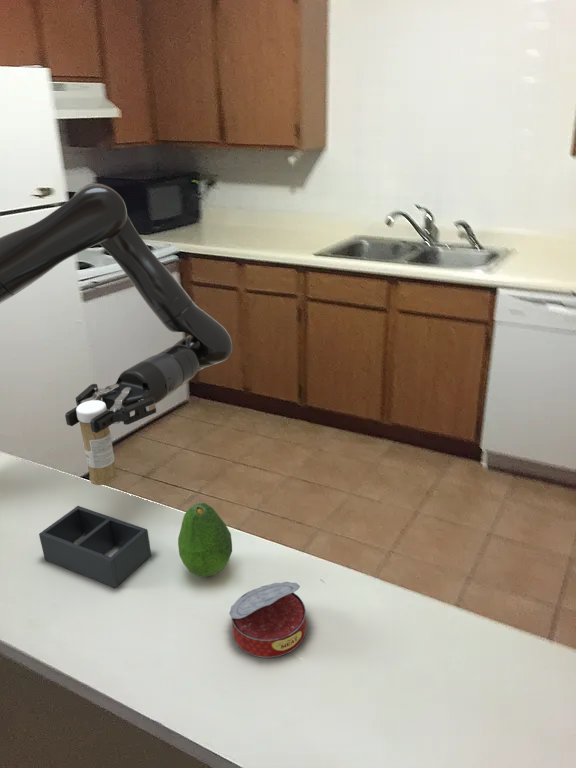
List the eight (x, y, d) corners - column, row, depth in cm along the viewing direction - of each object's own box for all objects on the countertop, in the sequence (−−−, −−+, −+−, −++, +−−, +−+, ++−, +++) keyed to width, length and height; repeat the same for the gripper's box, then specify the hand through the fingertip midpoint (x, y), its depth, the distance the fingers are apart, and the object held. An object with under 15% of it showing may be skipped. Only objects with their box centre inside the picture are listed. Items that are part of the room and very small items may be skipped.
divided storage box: (44, 559, 104) (38, 533, 102) (82, 530, 111) (77, 505, 109) (115, 588, 98) (110, 561, 96) (151, 555, 105) (147, 529, 103)
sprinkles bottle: (89, 474, 111) (74, 402, 105) (117, 469, 112) (104, 397, 106) (90, 489, 107) (76, 414, 101) (119, 483, 108) (107, 409, 102)
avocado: (171, 580, 99) (162, 513, 94) (199, 549, 106) (192, 485, 101) (218, 595, 96) (211, 527, 91) (244, 562, 102) (239, 496, 97)
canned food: (247, 680, 88) (206, 635, 83) (254, 618, 96) (216, 574, 92) (323, 654, 85) (284, 606, 80) (323, 592, 93) (287, 546, 89)
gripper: (116, 354, 117) (41, 393, 104) (182, 367, 111) (111, 410, 97) (122, 393, 120) (51, 435, 107) (187, 408, 114) (119, 455, 100)
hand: (80, 423), depth 102 cm, fingers closed on sprinkles bottle, 4 cm apart
